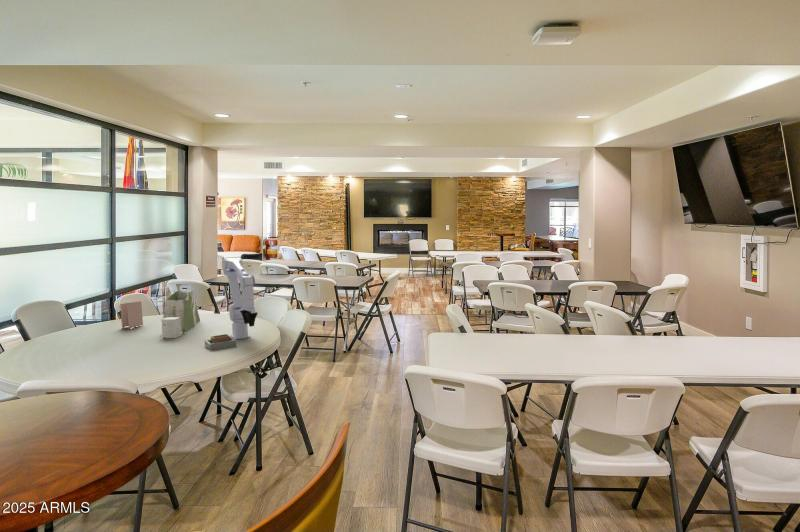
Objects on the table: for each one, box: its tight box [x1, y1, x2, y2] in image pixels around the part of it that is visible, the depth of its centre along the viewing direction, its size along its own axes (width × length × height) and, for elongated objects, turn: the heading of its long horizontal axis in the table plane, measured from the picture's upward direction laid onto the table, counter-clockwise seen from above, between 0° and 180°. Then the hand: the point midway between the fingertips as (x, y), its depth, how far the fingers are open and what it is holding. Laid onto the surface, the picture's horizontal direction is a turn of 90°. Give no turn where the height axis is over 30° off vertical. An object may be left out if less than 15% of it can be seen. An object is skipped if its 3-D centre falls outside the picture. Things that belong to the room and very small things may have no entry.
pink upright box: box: [119, 300, 144, 329], centre depth 292 cm, size 11×7×15 cm, turn 133°
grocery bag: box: [162, 288, 201, 333], centre depth 292 cm, size 32×14×23 cm, turn 10°
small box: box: [160, 317, 182, 339], centre depth 268 cm, size 8×6×10 cm
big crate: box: [204, 335, 238, 351], centre depth 248 cm, size 10×13×3 cm
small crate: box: [210, 333, 231, 344], centre depth 248 cm, size 5×8×4 cm, turn 125°
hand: (249, 324), depth 252 cm, fingers open, 7 cm apart
